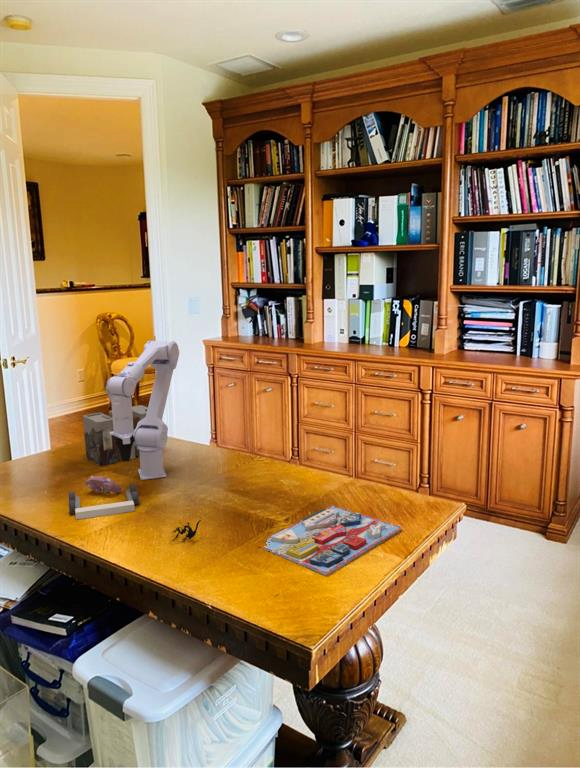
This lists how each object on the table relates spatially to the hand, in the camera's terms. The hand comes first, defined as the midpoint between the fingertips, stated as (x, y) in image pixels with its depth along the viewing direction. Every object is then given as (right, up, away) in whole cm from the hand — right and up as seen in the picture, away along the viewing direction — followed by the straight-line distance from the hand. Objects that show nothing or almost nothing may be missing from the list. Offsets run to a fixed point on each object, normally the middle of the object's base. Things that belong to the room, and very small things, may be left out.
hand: (125, 460), depth 183 cm
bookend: (-11, -3, +35) cm, 37 cm away
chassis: (-3, -12, -10) cm, 16 cm away
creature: (+22, -16, -30) cm, 41 cm away
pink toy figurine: (-7, -10, 0) cm, 12 cm away
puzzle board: (+59, -16, -31) cm, 69 cm away
